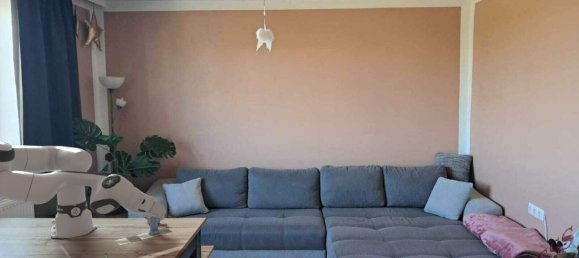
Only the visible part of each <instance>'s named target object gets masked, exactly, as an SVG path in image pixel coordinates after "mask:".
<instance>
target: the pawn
mask: <svg viewBox="0 0 579 258" xmlns="http://www.w3.org/2000/svg"><path fill="white" fill-rule="evenodd" d="M149 218H150V224H149V230H148V232H149V235H158V234H159V233H160V230H159V229H160V228H159V226H158V225H159V223H158V221H157V217H152V216H149Z"/></svg>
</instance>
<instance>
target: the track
mask: <svg viewBox="0 0 579 258" xmlns="http://www.w3.org/2000/svg"><path fill="white" fill-rule="evenodd" d="M158 229H159V230H160V233H159V234H158V235H149V231H147V232H143V233H139V234H135V235H132V236H128V237H123V238H119V239H115V240H114V242H115V243H117V244H118V245H119V246H124V245H127V244H131V243H135V242H139V241H143V240H147V239H150V238H154V237H155V238H156V237H158V236H162V235H166V234H170V233H173V231H172V230H171V229H169V228H167V227H163V228H158Z"/></svg>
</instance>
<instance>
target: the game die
mask: <svg viewBox="0 0 579 258" xmlns="http://www.w3.org/2000/svg"><path fill="white" fill-rule="evenodd" d="M144 219H146V220H147V223H148V225H150V218H149V216H148V217H144ZM157 221H158V225H161V222H162V220H159V219H158V218H157Z"/></svg>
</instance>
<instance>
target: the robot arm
mask: <svg viewBox="0 0 579 258" xmlns="http://www.w3.org/2000/svg"><path fill="white" fill-rule="evenodd" d="M92 165H93V157H92V155H91V154H90V152H88V151H86V150H84V149H82V148H79V147H71V146H65V145H64V146H63V145H43V146H42V145H17V144H16V145H11V144H9V143H7V142H5V141H0V197H1V198H3V199H6V200H10V201H13V202H20V203H25V204H31V205H43V204H45V203H48V202H49V201H51V200H52V199H53V198H54V197H55V196H56V197H57V198H56V199H57V204H56V212H57V213H56V215H55V218H53V219H51V225H52V226H51V227H50V228H51V229H50V238H51V239H56V238H57V239H71V238H76V237H80V236H85V235H87V234H89V233H91V232H92V231H93V230H95V229H97V228H98V227H97V224H94V223H93V216H92V215H93V214H92V212H93V213H95V214H97V215H101V216H103V215H104V216H105V215H108V214H110V213H113V212H114V211H116V210H118V209H119V208H120V206H122V208H124V209H125V210H126V211H127V212H129V213H132V214H136V215H137V214H138V215H140V216H142V217H148V216H152V217H157V218H158V219H159V220H161V221H164V219H165V215H166V213H167V209H166V208H165V207H164V206H163V205H162V204H161V203H159V202H158V201H157V200H156V198H155V197H154V196H152V195H149V194H148V193H147V194H146V193H144V192H143V191H141V190H140V189H138V188H137V187H135V186H134V184H133V183H132V182H131V181H129V179H127V178H125V177H124V176H122V175H120V174H117V173H112V172H109V171H99V172H98V171H97V172H95V171H93V172H92V171H89V170H90V168H91V167H92ZM45 172H47V173H45ZM86 187H90V188H91V194H90V198H89V199H90V200H89V209H88V202H87V201H88V200H87V199H86Z"/></svg>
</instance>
